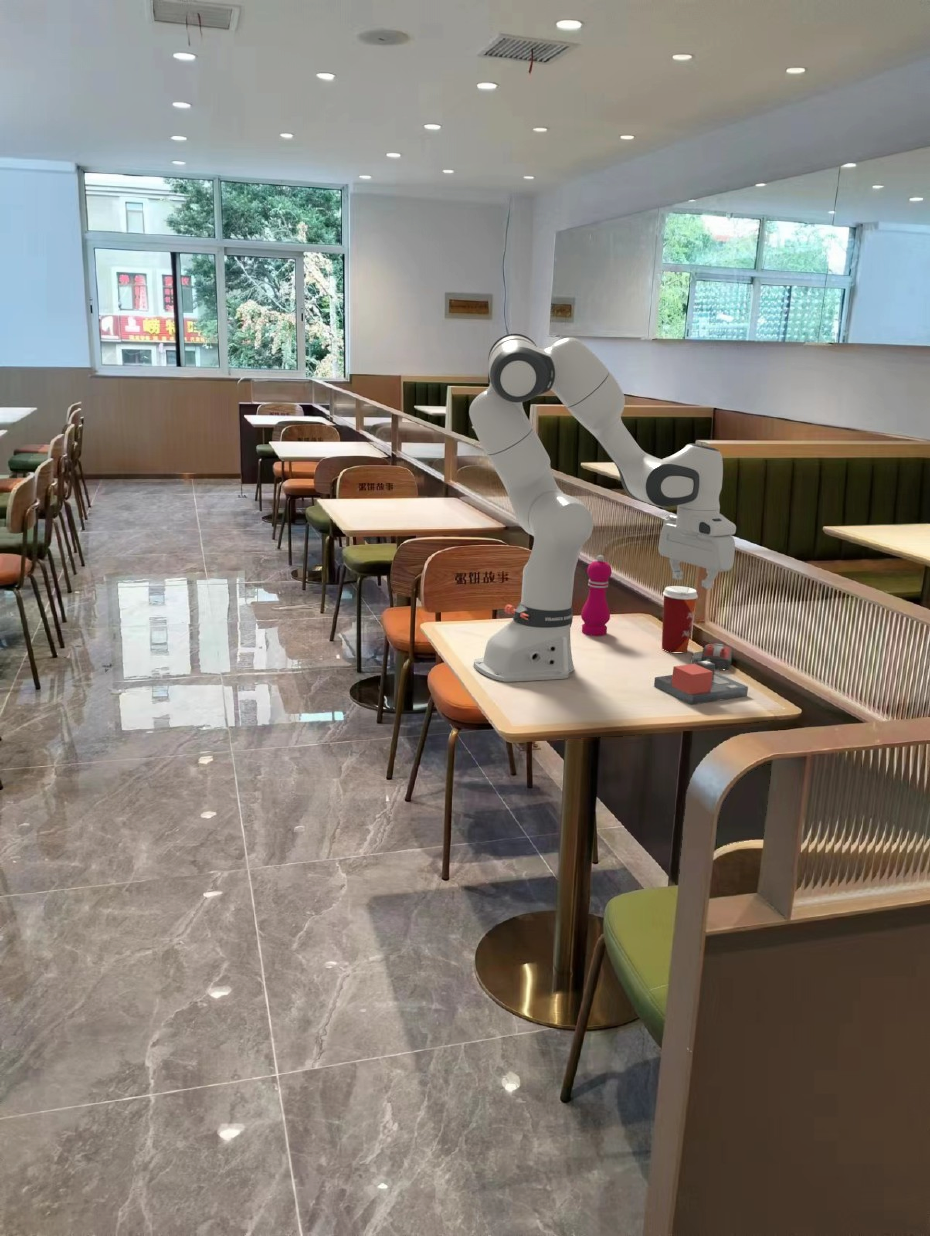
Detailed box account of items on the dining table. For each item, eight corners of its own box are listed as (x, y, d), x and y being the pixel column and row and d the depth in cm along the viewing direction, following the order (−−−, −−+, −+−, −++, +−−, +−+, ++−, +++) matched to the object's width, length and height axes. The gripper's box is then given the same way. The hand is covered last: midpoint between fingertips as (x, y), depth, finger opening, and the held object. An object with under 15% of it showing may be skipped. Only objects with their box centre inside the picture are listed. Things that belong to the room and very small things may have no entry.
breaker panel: (692, 704, 194) (693, 691, 193) (654, 686, 204) (655, 673, 203) (747, 695, 201) (748, 683, 200) (707, 678, 211) (709, 666, 211)
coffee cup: (694, 655, 228) (702, 594, 224) (660, 653, 228) (666, 592, 224) (687, 645, 236) (694, 586, 232) (654, 643, 236) (660, 584, 232)
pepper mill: (613, 632, 244) (620, 555, 239) (601, 638, 238) (608, 559, 233) (587, 627, 248) (593, 550, 243) (575, 632, 242) (581, 554, 237)
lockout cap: (689, 694, 194) (691, 674, 193) (671, 685, 199) (673, 666, 198) (710, 691, 197) (713, 671, 196) (692, 682, 201) (694, 663, 200)
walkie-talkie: (695, 652, 231) (687, 676, 213) (697, 635, 230) (689, 657, 212) (732, 657, 229) (727, 682, 211) (735, 640, 228) (730, 663, 209)
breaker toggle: (704, 676, 205) (705, 664, 204) (695, 672, 207) (696, 660, 207) (714, 675, 206) (715, 663, 206) (705, 671, 209) (706, 659, 208)
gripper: (654, 514, 213) (649, 575, 217) (719, 529, 196) (713, 595, 199) (676, 512, 216) (671, 572, 220) (742, 527, 199) (735, 592, 202)
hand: (691, 583), depth 209 cm, fingers open, 8 cm apart
